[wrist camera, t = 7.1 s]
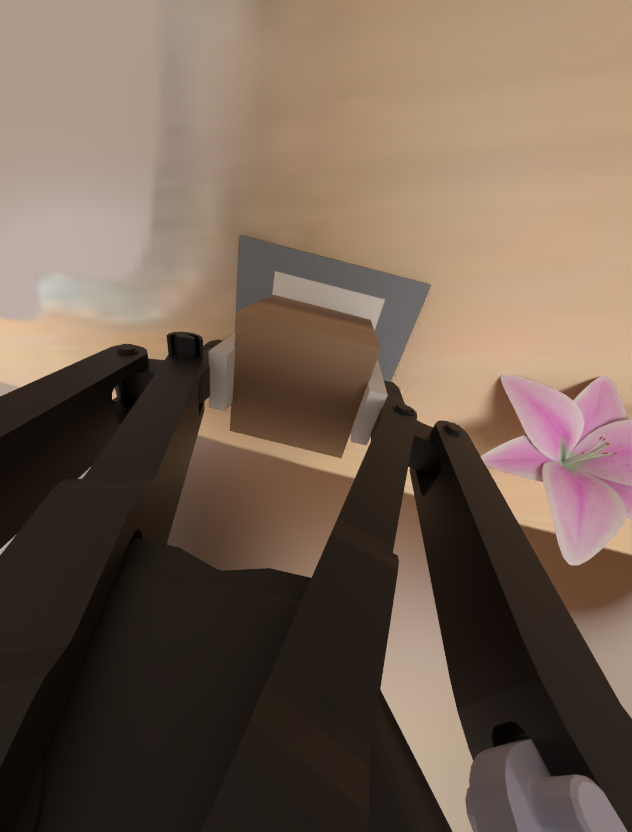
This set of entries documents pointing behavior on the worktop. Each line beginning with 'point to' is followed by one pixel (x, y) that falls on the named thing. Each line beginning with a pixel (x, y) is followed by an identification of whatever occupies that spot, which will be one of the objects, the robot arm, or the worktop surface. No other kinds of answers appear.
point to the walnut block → (300, 373)
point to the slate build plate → (333, 291)
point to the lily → (573, 459)
